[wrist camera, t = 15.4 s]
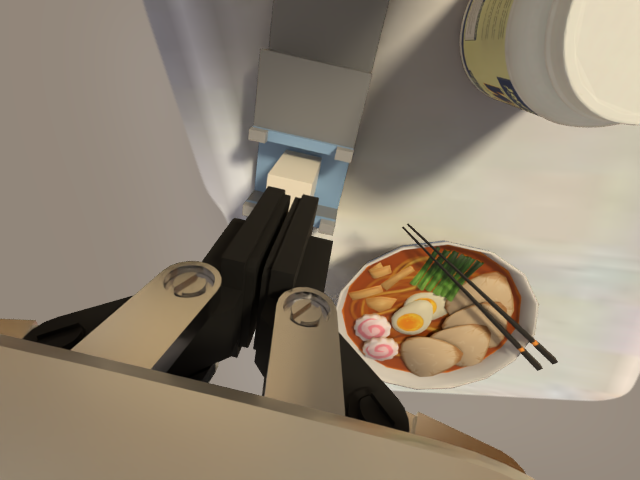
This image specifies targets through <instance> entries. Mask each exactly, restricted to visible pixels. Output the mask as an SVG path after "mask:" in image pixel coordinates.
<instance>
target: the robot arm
mask: <svg viewBox="0 0 640 480" xmlns="http://www.w3.org/2000/svg"><path fill="white" fill-rule="evenodd" d="M290 199H291V196H290V195H286V194H285V190H284V189H280V188H275V187H271V186H268V187H267V188H266V190H265V192H264V193H263V195H262V196H261V198H260V199H259V201H258V202H257V204H256V205H255V207H254V208H253V210H252V211H251V213H250V215H249V216H248V218H247V219H246V220H242V219H238V218H234V219H233V220H232V221H231V222H230V224H229V225H228V226H227V228H226V229H225V230H224V232H223V233H222V235H221V236H220V237H219V239H218V240H217V241H216V243H215V244H214V246H213V247H212V248H211V250H210V251H209V253H208V254H207V255H206V257H205V258H204V259H203V261H202V262H199V261H186V262H180V263H176V264H174V265H171V266H169V267H168V268H166V269H164V270H163V271H162V272H161V273H159V274H158V275H157V276H156V277H155V278H154V279H152V280H151V281H150V282H149V283H148V284H147V285H146V286H144V287H143V288H142V289H141V290H140V291H139V292H137V293H136V294H135V295H134V296H130V297H127V298H123V299H120V300H116V301H113V302H109V303H106V304H102V305H99V306H96V307H92V308H88V309H84V310H81V311H78V312H74V313H71V314H67V315H63V316H60V317H57V318H54V319H51V320H49V321H46V322H44V323H42V324H41V325H38V324H37V322H36V320H20V319H19V320H18V319H0V480H535V479H534V478H532V477H530V476H528V475H526V473H525V471H524V470H523V469H522V468H521V467H520V465H518V463H517V462H516V461H515V460H514V459H513V458H511V457H510V456H508V455H507V454H505V453H503V452H502V451H501V450H498V449H496V448H494V447H492V446H490V445H488V444H486V443H484V442H481V441H479V440H477V439H475V438H473V437H471V436H469V435H467V434H464V433H463V432H460V431H458V430H456V429H454V428H452V427H450V426H448V425H446V424H444V423H441V422H439V421H437V420H435V419H433V418H431V417H429V416H426V415H424V414H422V413H420V412H418V413H417V414H416V415H413V414H411V413H409V412H407V411H405V408H404V407H403V405H402V404H401V402H400V401H399V399H398V398H397V397H396V396H395V395H394V394H393V392H392V391H391V390H390V389H389V388H388V387H387V386H386V385H385V383H384V382H383V381H382V380H381V379H380V378H379V377H378V376H377V374H376V373H375V372H374V371H373V370H372V369H371V368H370V367H369V365H368V364H367V363H366V362H365V361H364V360H363V359H362V358H361V356H360V355H359V354H358V353H357V352H356V351H355V350H354V348H353V347H352V346H351V345H350V344H349V343H348V342H347V341H346V339H345V338H344V337H343V336H342V335H341V334H340V333H339V329H338V317H337V310H336V306H335V304H334V303H333V301H332V300H331V298H329V297H328V296H327V295H326V294H324V289H325V283H326V278H327V272H328V266H329V261H330V255H331V250H332V244H333V241H330V240H326V239H322V238H318V237H313V236H311V235H312V230H313V225H314V221H315V216H316V211H317V207H318V202H319V198H318V197H313V196H309V195H305V194H303V195H302V197H301V198H299V197H295V199H294V201H293V203H292V205H291V208H290V210H289V206H290ZM255 329H256V331H255ZM254 332H255V339H254V347H253V349H255V350H256V355H255V364H256V365H257V367H258V368H259V370H260V372H261V373H262V375H263V376H264V384H263V391H262V396H259V395H255V394H252V393H247V392H243V391H239V390H235V389H231V388H227V387H222V386H218V385H214V384H210V383H209V382H210V380H211V378H212V377H213V375H214V374H215V372H216V370H217V368H218V364H219V362H220V361H222V360H224V359H226V358H228V357H231V356H232V357H236V358H237V357H238V354H239V352H240V350H241V347H246V348H248V347H249V345H250V342H251V340H252V337H253V334H254Z"/></svg>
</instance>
